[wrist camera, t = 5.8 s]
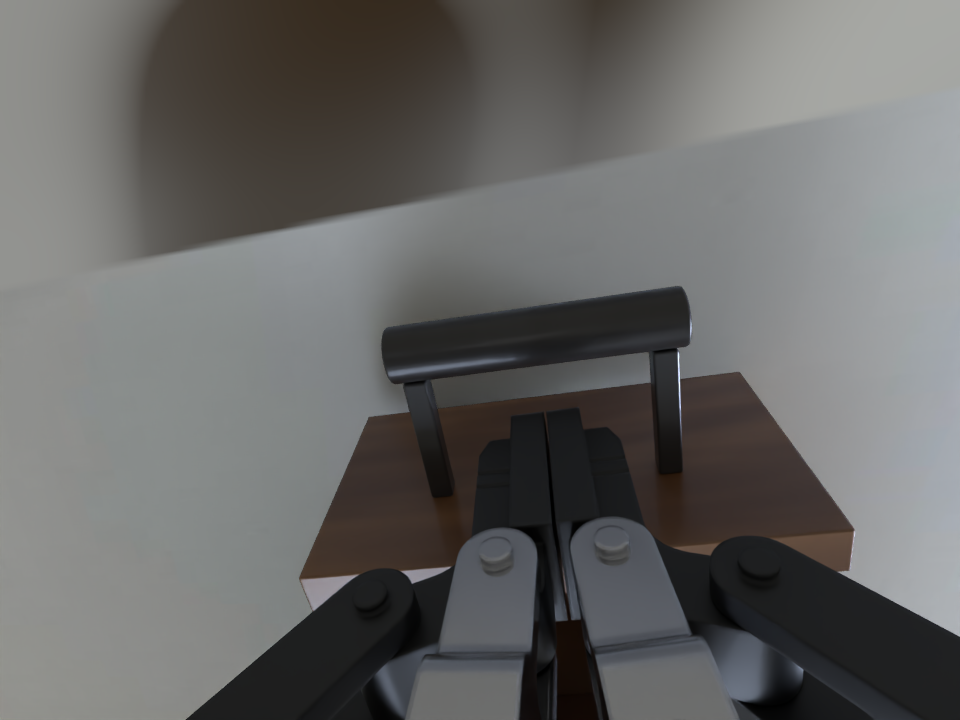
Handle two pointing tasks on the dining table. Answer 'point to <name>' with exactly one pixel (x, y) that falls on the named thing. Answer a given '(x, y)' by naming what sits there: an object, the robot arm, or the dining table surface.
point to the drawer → (468, 429)
